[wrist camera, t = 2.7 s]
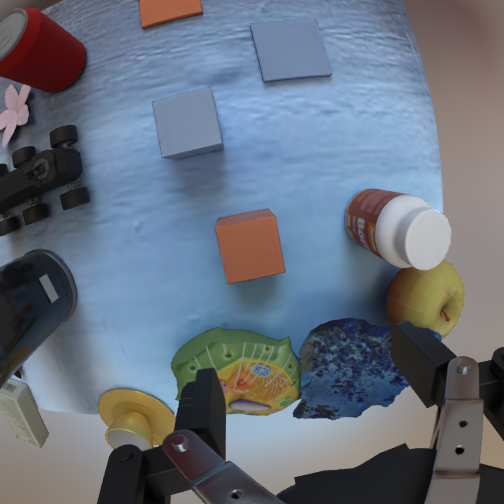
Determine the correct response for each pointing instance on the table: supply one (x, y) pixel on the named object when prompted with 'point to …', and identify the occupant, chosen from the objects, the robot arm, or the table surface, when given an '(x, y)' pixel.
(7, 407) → the cosmetic box
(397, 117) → the table surface
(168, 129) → the slate-blue block
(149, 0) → the terracotta mat
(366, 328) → the rock
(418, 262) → the pill bottle
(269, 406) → the educational model
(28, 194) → the toy vehicle
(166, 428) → the cup
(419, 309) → the apple
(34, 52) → the beverage can
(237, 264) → the terracotta block
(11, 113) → the flower
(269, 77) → the slate-blue mat
